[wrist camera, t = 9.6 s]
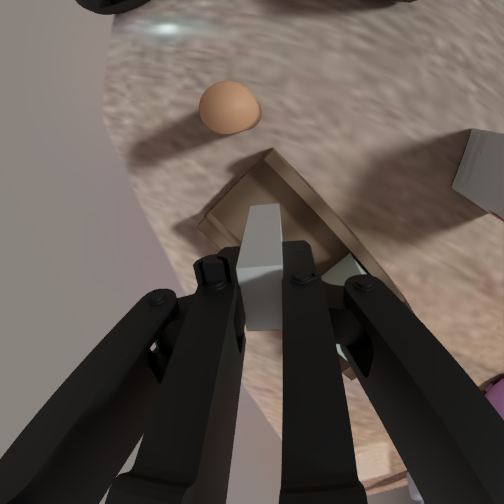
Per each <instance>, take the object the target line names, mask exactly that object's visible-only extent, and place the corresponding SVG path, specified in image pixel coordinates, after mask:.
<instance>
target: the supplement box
mask: <svg viewBox="0 0 504 504" xmlns="http://www.w3.org/2000/svg"><path fill="white" fill-rule="evenodd" d="M451 188H452V189H453V190H455V191H456V192H458V193H459V194H461V195H462V196H464V197H465V198H467V199H469V200H470V201H472V202H473V203H475V204H476V205H478V206H479V207H481V208H482V209H483V210H485V211H486V212H488V213H489V214H491V215H493V216H495V217H496V218H498V219H499V220H501V221H503V222H504V134H501V133H496V132H491V131H485V130H479V129H472V131H471V134H470V137H469V140H468V143H467V146H466V149H465V152H464V155H463V157H462V160H461V163H460V166H459V168H458V171H457V174H456V176H455V179H454V181H453V184H452V186H451Z"/></svg>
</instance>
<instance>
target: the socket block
mask: <svg viewBox="0 0 504 504" xmlns="http://www.w3.org/2000/svg"><path fill="white" fill-rule="evenodd" d="M360 274H368V275H370V274H369V273H368V272H367V271H366V270H365V269H364V267H363V266H362V265H361V264H360V263H359V262H358V261H357V259H356V258H355V257H354V256H353V255H352V254H351V253H349V254H348V255H347V256H346V257H344V258H343V259H342V260H341V261H340V262H338V263H337V264H336V265H335V266H333V267H332V268H331V269H330V270H329V271H327V272H326V273H325V274H324V275H322V276H321V279H322V280H323V281H324V282H326V283H329V284H333V285H340V286H344V283H345V281H346V280H347V279H348V278H349V277H351V276H354V275H360ZM336 346H337V351H338V353H339V354H340V355H341V356H342V357H343V358H345V359H346V357H345V356H344V354H343V352H342V351H341V348H340V344H336ZM346 360H347V359H346Z"/></svg>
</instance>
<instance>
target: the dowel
mask: <svg viewBox="0 0 504 504" xmlns="http://www.w3.org/2000/svg"><path fill="white" fill-rule="evenodd" d="M199 113H200V117H201V119H202V121H203V123H204V124H205V125H206V126H207V127H208V128H209V129H210V130H212V131H214V132H216V133H220V134H232V133H237V132H241V131H245V130H249V129H251V128H253V127H254V126H256V125H257V124H258V122H259V120H260V118H261V113H262V112H261V107H260V105H259V103H258V102H257V100H256V99H255V98H254V96H253V95H252V94H251V93H250V91H249V90H248V89H247V88H246V87H244V86H243V85H241V84H239V83H237V82H233V81H222V82H218V83H216V84H214V85H212V86H211V87H209V88H208V89H207V90H206V91H205V92H204V94H203V95H202V97H201V100H200V104H199Z"/></svg>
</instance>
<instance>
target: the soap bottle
mask: <svg viewBox="0 0 504 504" xmlns="http://www.w3.org/2000/svg"><path fill="white" fill-rule="evenodd" d="M406 477H407V481H408V486H409V491H410V496H411V498H412V499H413V500H417V501H421V504H425V503H424V501H423V499H422V497H421V495H420V493H419V491H418V489H417V487H416V485H415V483H414V482H413V480H412V478H411V476H410V474H409V472H407V473H406Z"/></svg>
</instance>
